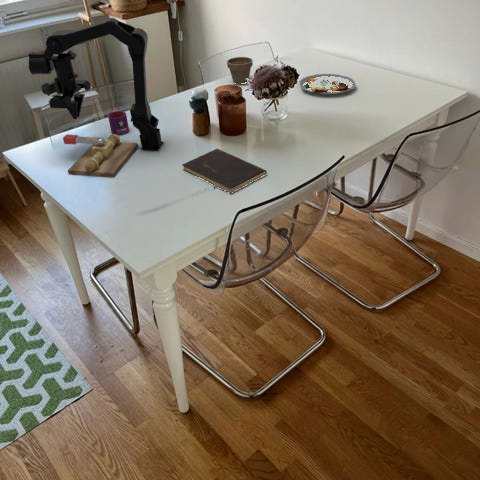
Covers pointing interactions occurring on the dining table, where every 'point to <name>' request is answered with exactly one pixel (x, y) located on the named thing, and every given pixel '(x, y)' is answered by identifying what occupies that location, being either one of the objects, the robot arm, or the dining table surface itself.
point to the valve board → (105, 164)
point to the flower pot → (240, 68)
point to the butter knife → (196, 193)
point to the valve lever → (82, 140)
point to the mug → (118, 122)
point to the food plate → (323, 90)
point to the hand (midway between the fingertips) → (76, 118)
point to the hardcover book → (223, 170)
